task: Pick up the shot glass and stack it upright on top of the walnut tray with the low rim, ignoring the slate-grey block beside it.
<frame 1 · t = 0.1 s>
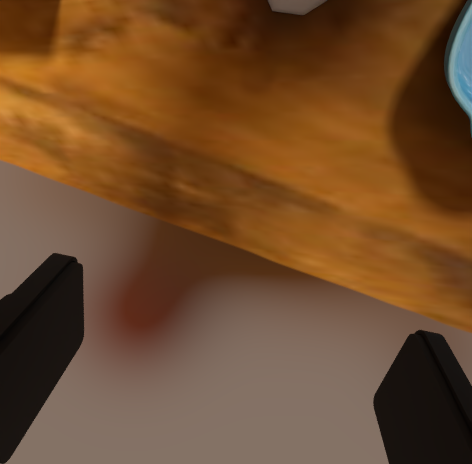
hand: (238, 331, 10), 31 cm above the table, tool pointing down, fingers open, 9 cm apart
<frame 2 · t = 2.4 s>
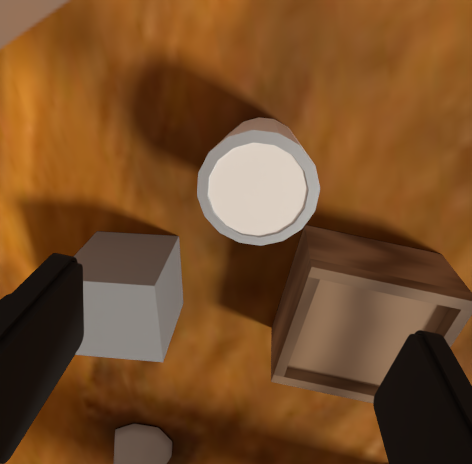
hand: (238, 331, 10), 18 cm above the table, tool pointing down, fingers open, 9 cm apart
slate block: (142, 268, 32), on the table
flask: (145, 439, 44), on the table
walnut tray: (349, 294, 31), on the table
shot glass: (261, 156, 26), on the table
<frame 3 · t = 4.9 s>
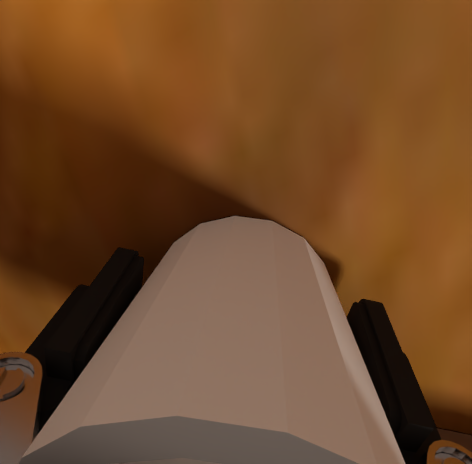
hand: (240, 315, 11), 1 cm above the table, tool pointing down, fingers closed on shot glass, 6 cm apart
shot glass: (243, 289, 12), on the table, touching gripper
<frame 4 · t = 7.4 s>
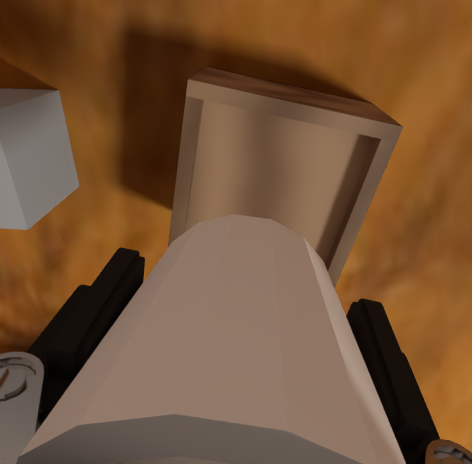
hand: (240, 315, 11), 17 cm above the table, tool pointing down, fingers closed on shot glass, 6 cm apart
slate block: (24, 139, 27), on the table
walnut tray: (269, 165, 26), on the table
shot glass: (242, 288, 12), point 16 cm above the table, touching gripper
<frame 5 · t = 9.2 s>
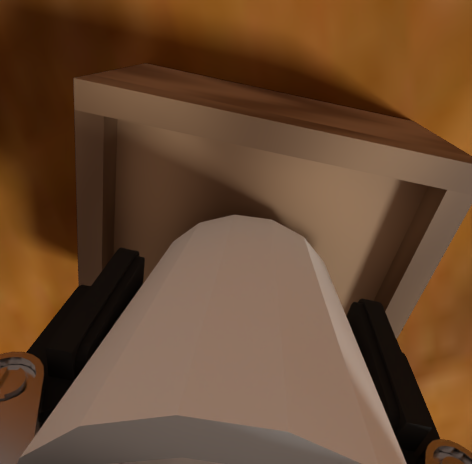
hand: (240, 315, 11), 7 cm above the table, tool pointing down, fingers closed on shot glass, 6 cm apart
walnut tray: (251, 213, 17), on the table
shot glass: (242, 288, 12), point 6 cm above the table, touching gripper
when the fingers open (7 cm above the table, at t = 10.3 s): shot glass stays where it is, resting on walnut tray.
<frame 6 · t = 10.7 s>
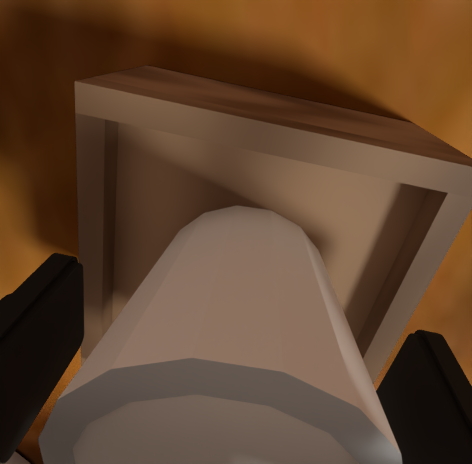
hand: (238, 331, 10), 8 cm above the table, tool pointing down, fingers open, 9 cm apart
walnut tray: (252, 214, 17), on the table
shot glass: (243, 274, 13), point 5 cm above the table, touching walnut tray
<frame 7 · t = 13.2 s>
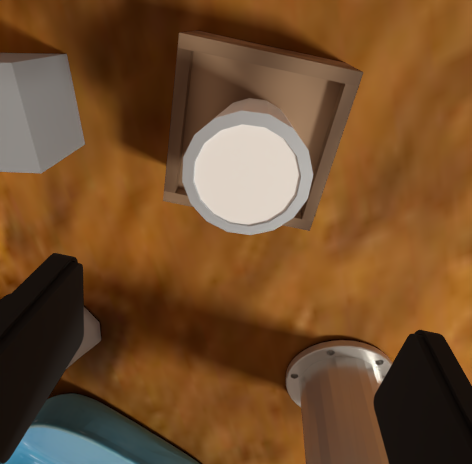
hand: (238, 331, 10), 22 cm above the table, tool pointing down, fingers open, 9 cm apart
slate block: (35, 100, 30), on the table
flask: (73, 322, 43), on the table
casserole dish: (119, 448, 56), on the table
walnut tray: (255, 122, 29), on the table
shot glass: (252, 140, 25), point 5 cm above the table, touching walnut tray
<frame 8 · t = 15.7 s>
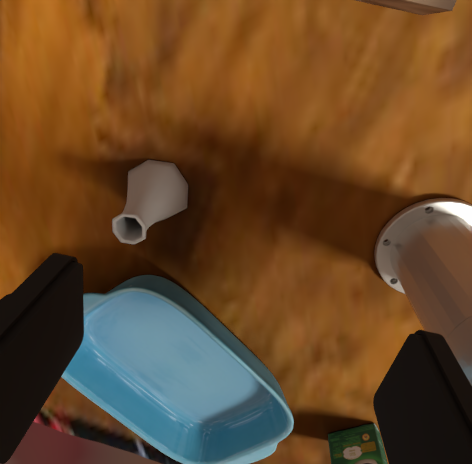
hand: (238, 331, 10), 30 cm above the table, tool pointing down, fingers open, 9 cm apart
flask: (159, 188, 42), on the table
casserole dish: (184, 352, 54), on the table
coffee box: (352, 431, 59), on the table
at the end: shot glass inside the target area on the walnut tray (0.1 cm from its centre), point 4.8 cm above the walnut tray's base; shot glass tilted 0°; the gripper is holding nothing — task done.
